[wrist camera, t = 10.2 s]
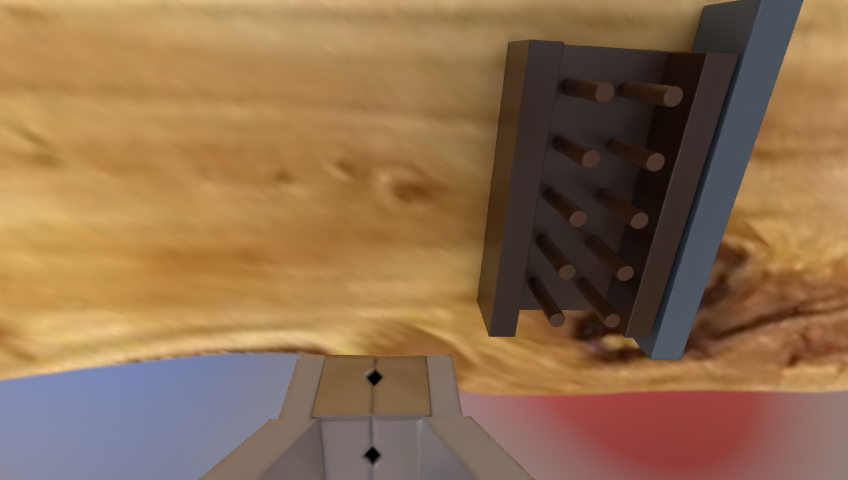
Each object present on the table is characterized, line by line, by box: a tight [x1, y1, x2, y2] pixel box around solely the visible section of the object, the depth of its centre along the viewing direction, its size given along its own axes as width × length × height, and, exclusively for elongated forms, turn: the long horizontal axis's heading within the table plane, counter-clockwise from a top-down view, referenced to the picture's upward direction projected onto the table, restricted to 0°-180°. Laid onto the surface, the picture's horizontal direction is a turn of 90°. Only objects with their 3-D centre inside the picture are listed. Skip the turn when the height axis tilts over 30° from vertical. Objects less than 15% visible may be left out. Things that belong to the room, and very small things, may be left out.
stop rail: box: [633, 0, 803, 360], centre depth 25 cm, size 2×20×4 cm, turn 177°
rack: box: [477, 40, 739, 338], centre depth 24 cm, size 10×16×5 cm, turn 177°
